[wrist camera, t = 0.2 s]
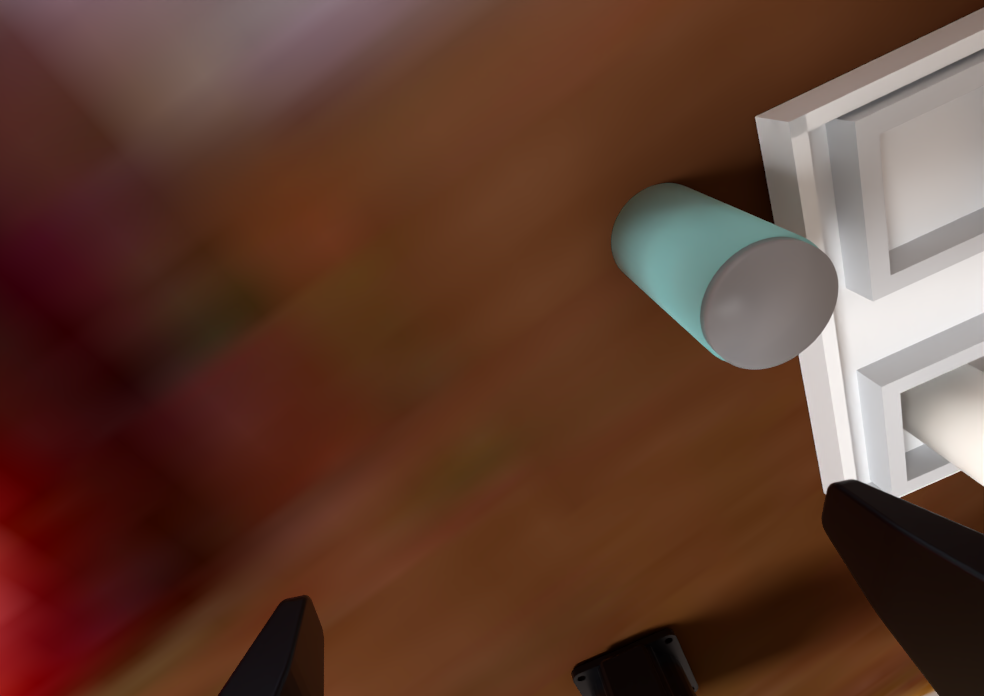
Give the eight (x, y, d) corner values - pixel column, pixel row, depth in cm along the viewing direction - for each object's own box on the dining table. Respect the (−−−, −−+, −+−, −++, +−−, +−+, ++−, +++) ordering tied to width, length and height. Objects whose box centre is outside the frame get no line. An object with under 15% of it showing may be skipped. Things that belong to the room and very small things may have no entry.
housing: (1020, 405, 30) (1070, 433, 28) (823, 492, 31) (857, 526, 28) (1041, -21, 21) (1120, -30, 18) (754, 116, 21) (798, 123, 19)
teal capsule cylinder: (718, 257, 23) (849, 335, 17) (627, 299, 24) (722, 393, 17) (695, 164, 22) (832, 212, 15) (597, 211, 22) (690, 278, 15)
